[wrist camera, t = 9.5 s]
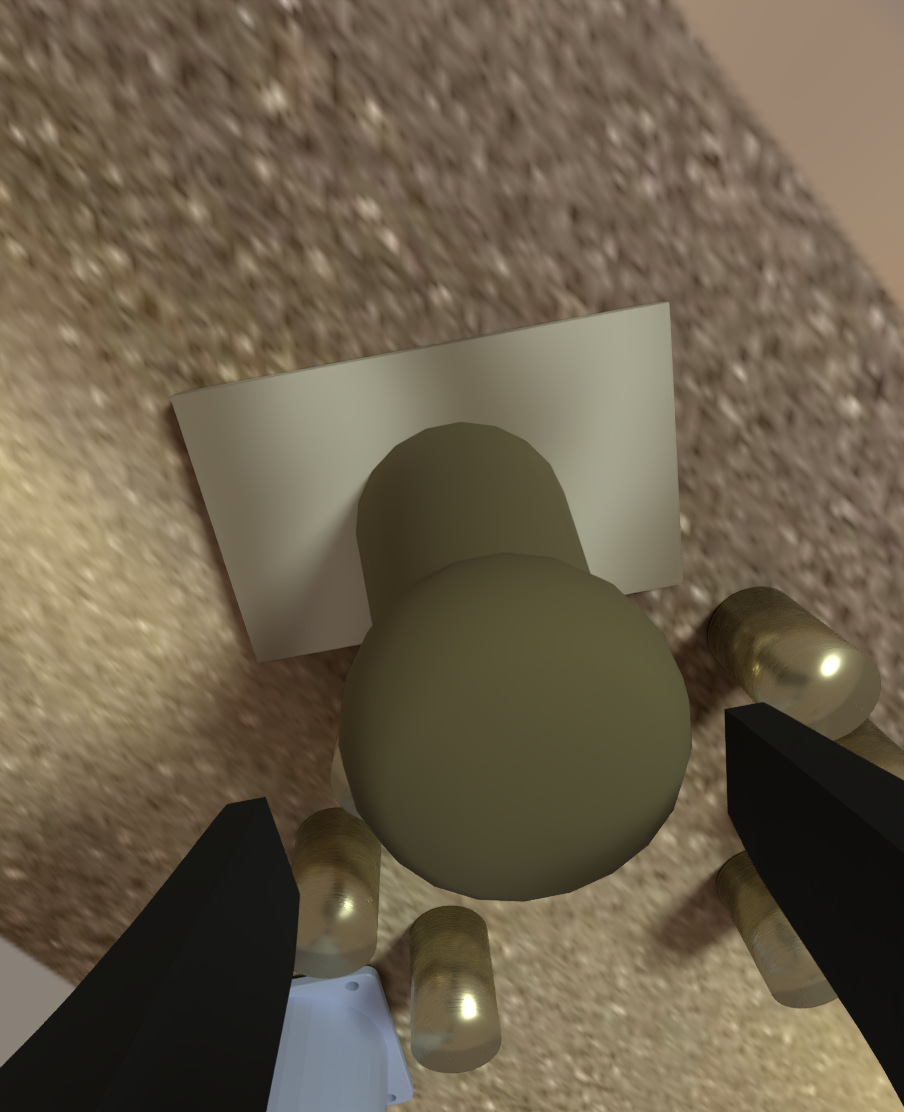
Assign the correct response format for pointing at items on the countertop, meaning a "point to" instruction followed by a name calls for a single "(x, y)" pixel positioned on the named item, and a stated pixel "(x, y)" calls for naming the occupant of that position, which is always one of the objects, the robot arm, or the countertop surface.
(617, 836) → the cork
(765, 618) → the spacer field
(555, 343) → the pale grey metal board
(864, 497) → the countertop surface
